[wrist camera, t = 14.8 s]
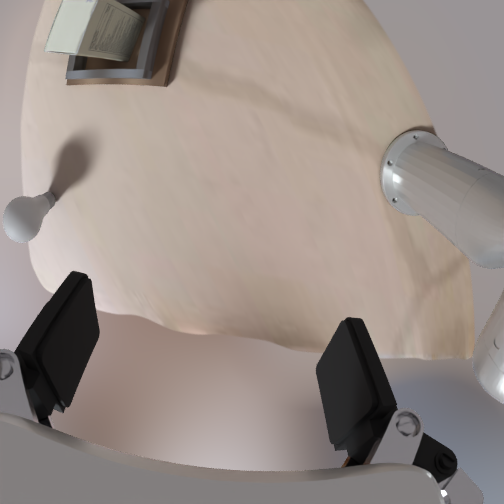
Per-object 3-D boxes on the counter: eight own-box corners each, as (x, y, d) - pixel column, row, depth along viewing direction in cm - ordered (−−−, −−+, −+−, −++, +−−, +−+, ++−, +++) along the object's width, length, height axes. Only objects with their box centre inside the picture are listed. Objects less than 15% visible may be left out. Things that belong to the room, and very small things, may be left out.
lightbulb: (47, 170, 33) (0, 197, 24) (73, 195, 36) (30, 228, 26) (33, 199, 35) (-9, 230, 26) (57, 223, 38) (18, 259, 28)
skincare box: (117, 14, 23) (66, -11, 12) (147, 18, 23) (103, -12, 13) (99, 60, 25) (40, 52, 15) (128, 64, 26) (75, 55, 16)
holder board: (199, -35, 21) (194, -50, 17) (166, 86, 30) (156, 85, 26) (101, -29, 19) (87, -39, 15) (72, 85, 28) (53, 85, 24)
